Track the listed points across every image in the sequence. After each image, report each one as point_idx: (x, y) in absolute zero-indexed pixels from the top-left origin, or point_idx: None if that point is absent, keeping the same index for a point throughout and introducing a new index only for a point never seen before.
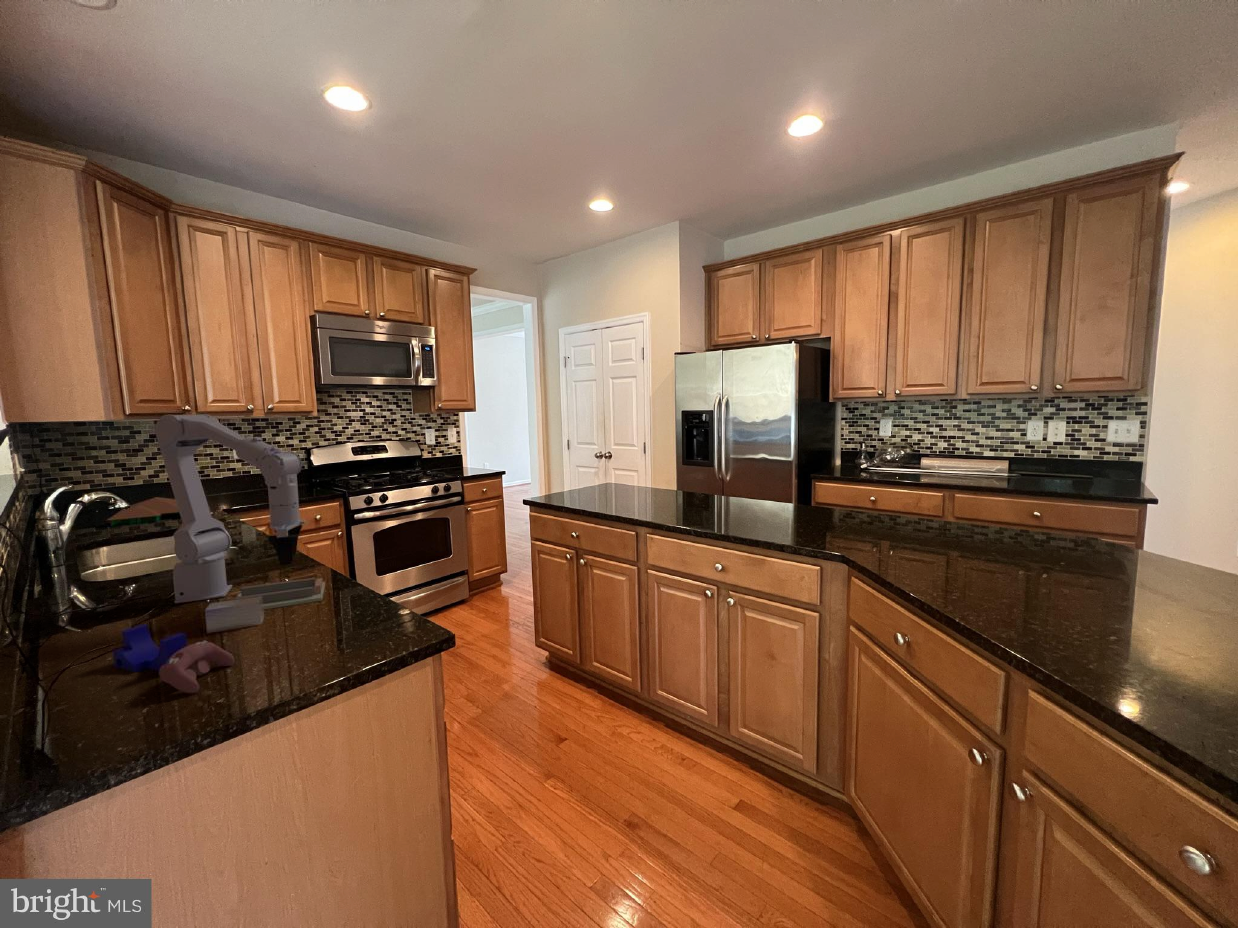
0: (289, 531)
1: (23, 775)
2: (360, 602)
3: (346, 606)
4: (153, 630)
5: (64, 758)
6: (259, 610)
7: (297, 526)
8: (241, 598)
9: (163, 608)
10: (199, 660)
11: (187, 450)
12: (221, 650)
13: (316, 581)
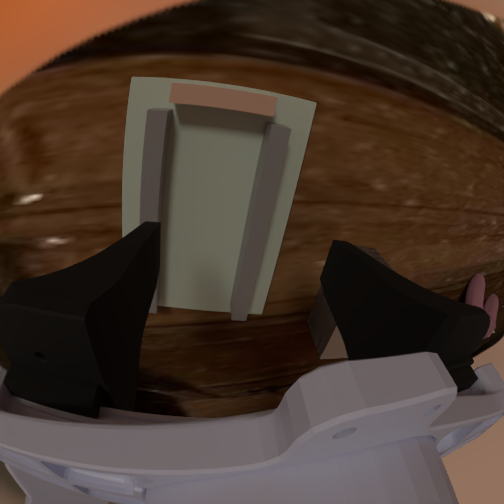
0: (117, 365)
1: (484, 349)
2: (397, 28)
3: (403, 64)
4: (260, 379)
5: (488, 339)
6: (390, 267)
7: (90, 353)
8: (248, 307)
9: (147, 382)
10: None
11: None
12: (483, 296)
13: (208, 104)
